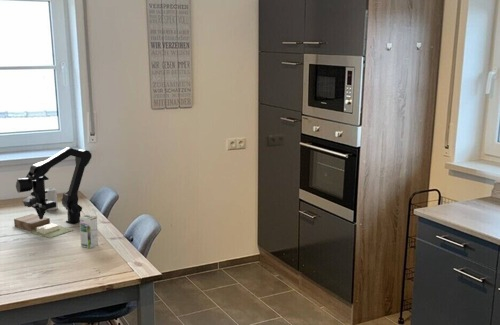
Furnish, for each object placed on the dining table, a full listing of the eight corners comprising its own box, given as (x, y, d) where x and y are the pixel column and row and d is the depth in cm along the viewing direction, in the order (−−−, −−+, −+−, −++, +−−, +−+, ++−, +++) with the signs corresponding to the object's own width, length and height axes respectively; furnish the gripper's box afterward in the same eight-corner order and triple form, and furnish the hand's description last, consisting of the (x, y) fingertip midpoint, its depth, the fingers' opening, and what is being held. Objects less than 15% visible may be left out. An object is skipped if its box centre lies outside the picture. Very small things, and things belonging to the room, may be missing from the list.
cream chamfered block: (51, 223, 275) (51, 226, 276) (36, 227, 268) (36, 231, 268) (59, 225, 272) (59, 228, 273) (44, 229, 265) (44, 233, 265)
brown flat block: (50, 225, 279) (49, 218, 278) (31, 231, 270) (30, 223, 269) (33, 221, 286) (32, 213, 285) (14, 226, 277) (14, 219, 276)
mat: (72, 230, 272) (72, 229, 271) (49, 238, 260) (49, 237, 260) (52, 224, 280) (52, 224, 280) (28, 232, 268) (28, 231, 268)
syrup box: (80, 246, 249) (78, 216, 246) (89, 242, 254) (88, 213, 252) (89, 248, 247) (88, 218, 244) (98, 244, 252) (97, 215, 249)
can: (60, 207, 311) (58, 187, 309) (54, 211, 304) (52, 190, 302) (47, 207, 312) (46, 187, 310) (41, 210, 305) (40, 190, 302)
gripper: (13, 189, 268) (15, 219, 271) (36, 195, 258) (38, 226, 261) (32, 185, 277) (34, 214, 280) (56, 190, 267) (58, 220, 270)
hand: (41, 219), depth 273 cm, fingers closed
